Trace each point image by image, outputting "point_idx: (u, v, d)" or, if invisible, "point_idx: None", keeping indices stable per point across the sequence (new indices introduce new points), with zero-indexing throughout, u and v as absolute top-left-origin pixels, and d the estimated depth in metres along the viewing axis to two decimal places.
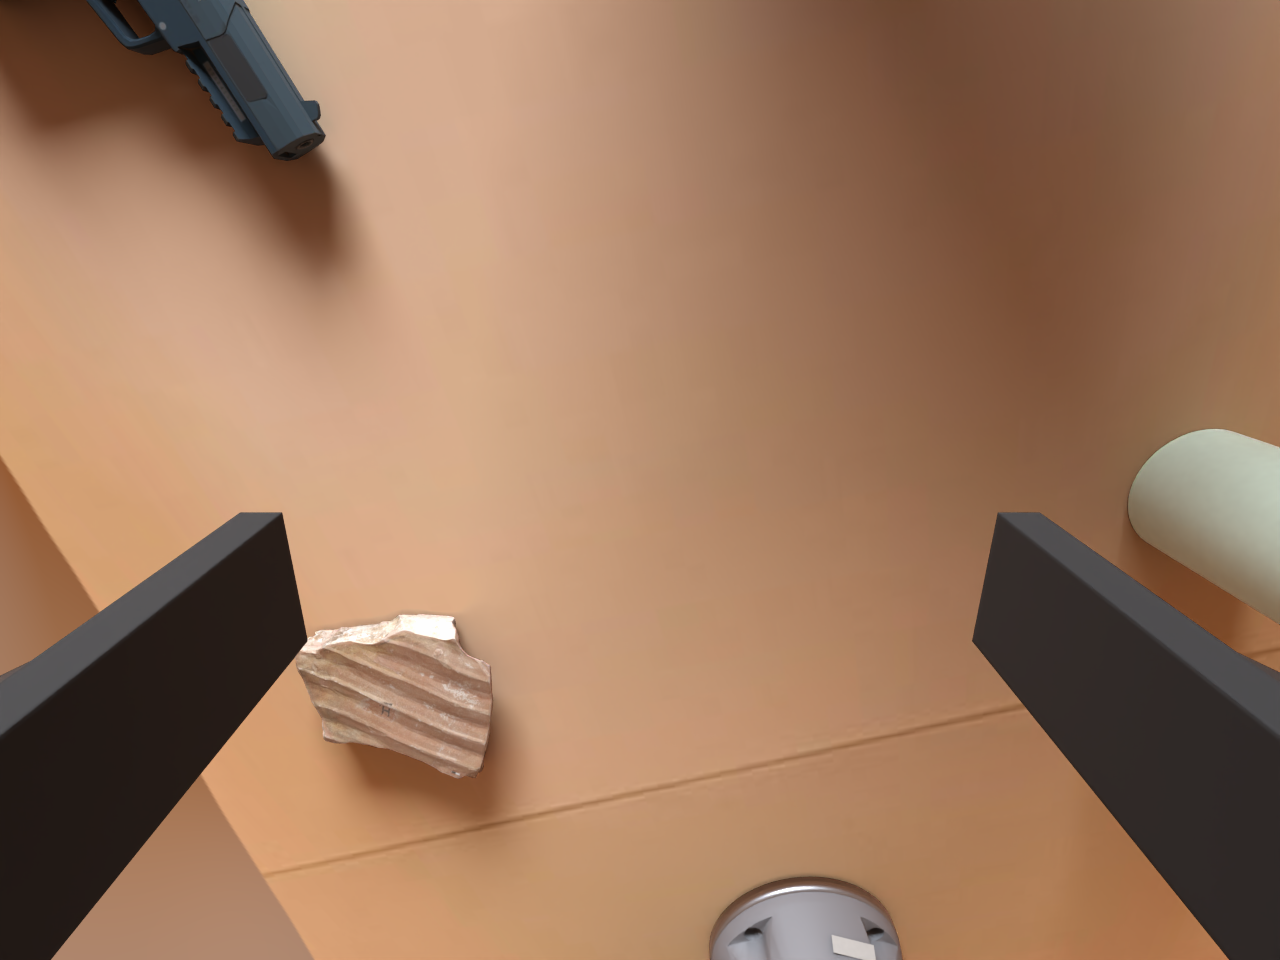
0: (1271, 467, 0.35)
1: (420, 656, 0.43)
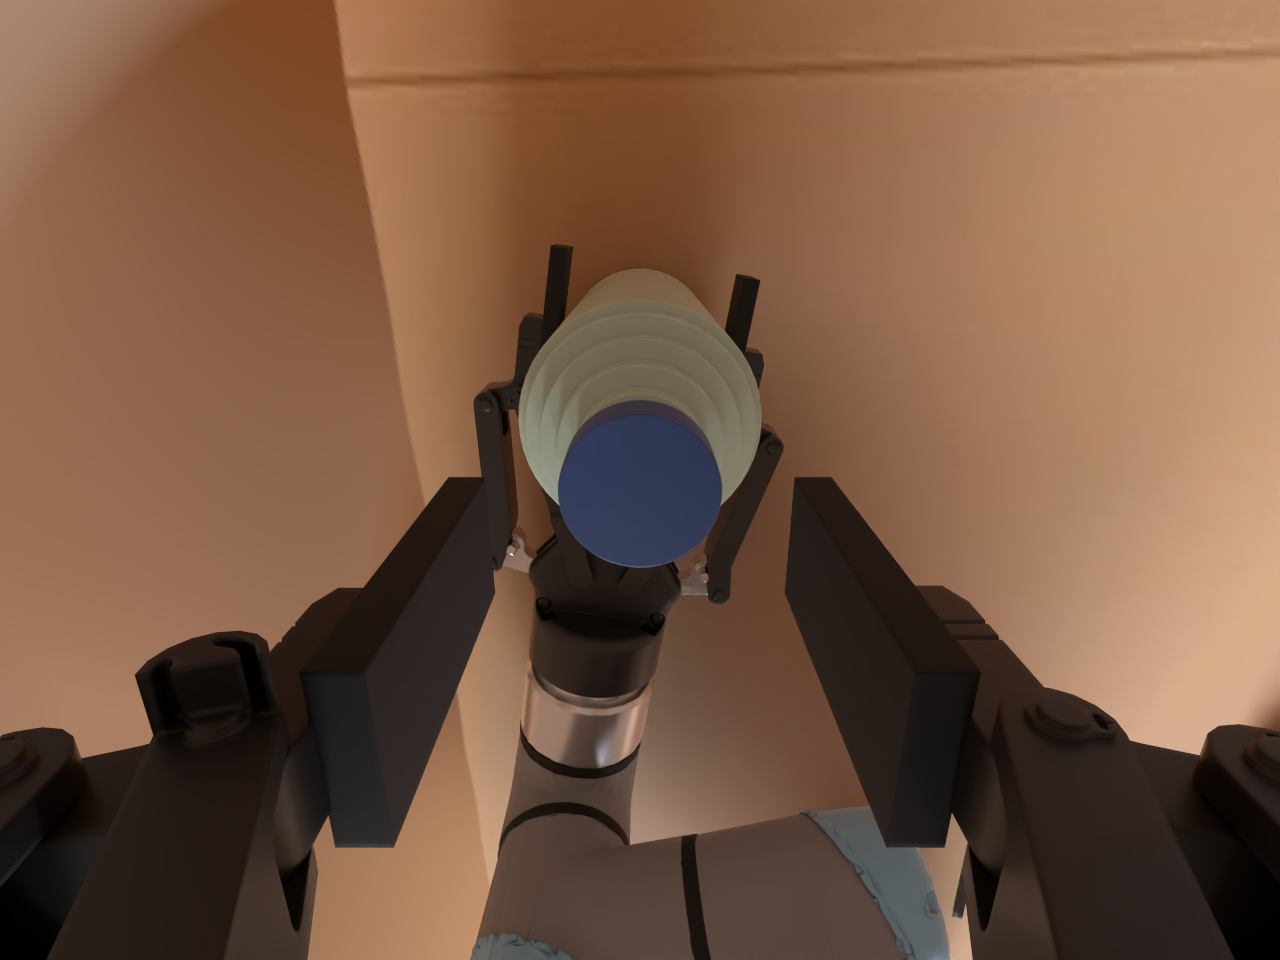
0: None
1: None
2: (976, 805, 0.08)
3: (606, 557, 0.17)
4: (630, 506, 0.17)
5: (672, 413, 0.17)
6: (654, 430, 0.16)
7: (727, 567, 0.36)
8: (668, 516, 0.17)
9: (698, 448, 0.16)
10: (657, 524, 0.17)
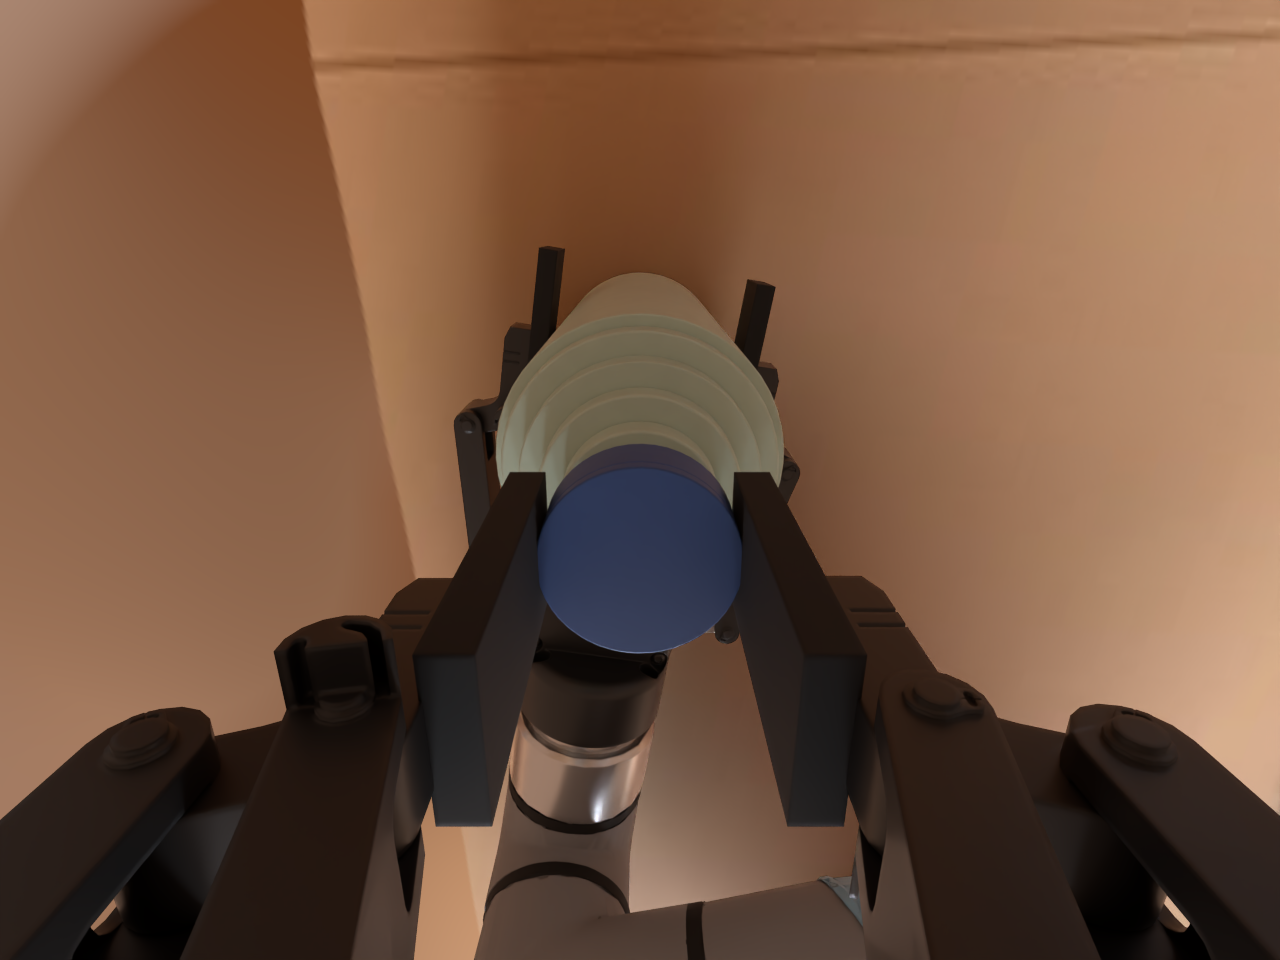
0: None
1: None
2: (863, 788, 0.08)
3: (598, 641, 0.14)
4: (627, 580, 0.13)
5: (680, 462, 0.13)
6: (658, 486, 0.13)
7: None
8: (675, 592, 0.13)
9: (714, 509, 0.13)
10: (661, 601, 0.13)
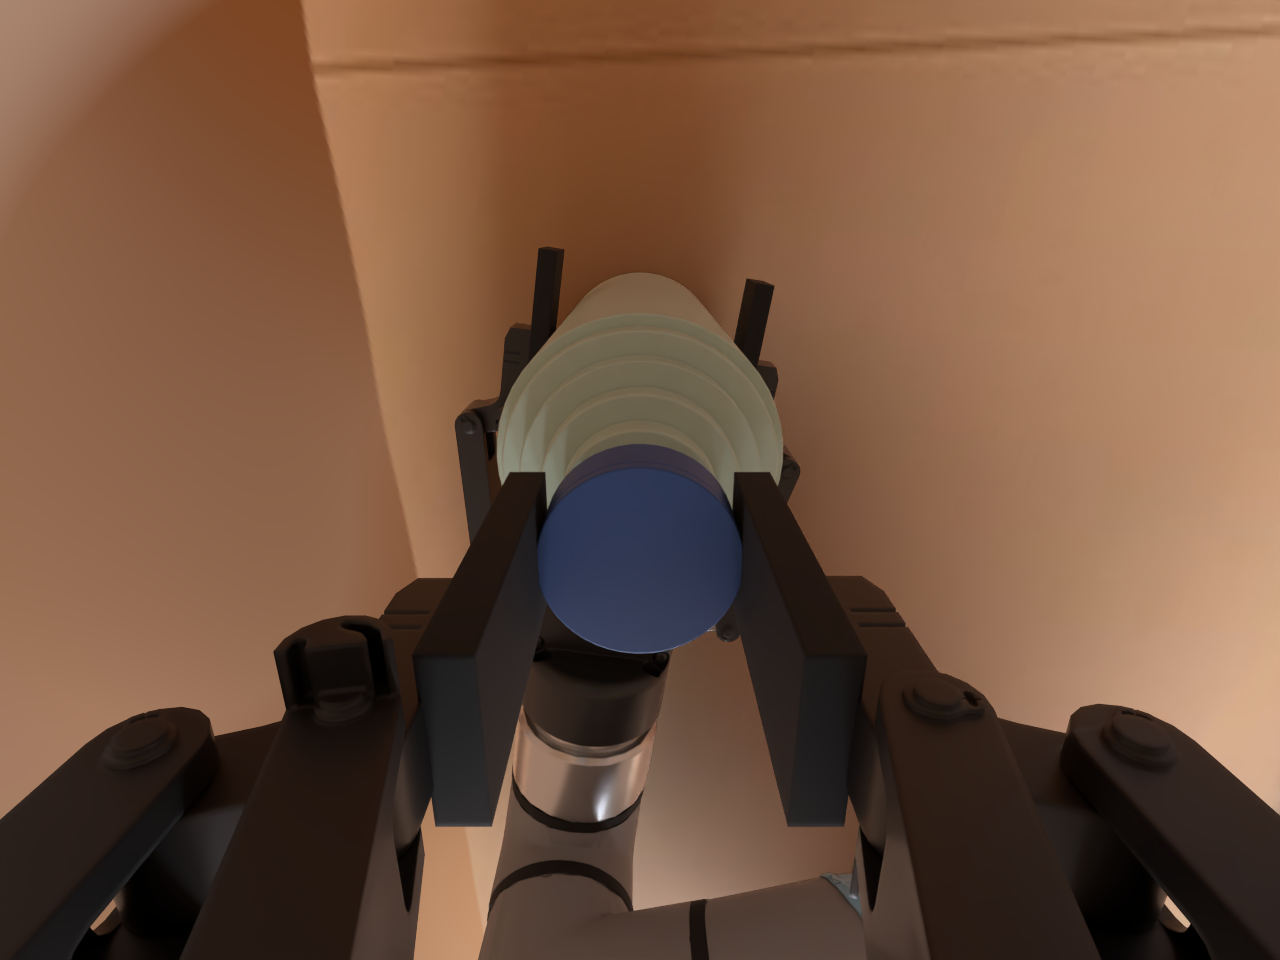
0: None
1: None
2: (864, 788, 0.08)
3: (730, 596, 0.13)
4: (657, 575, 0.13)
5: None
6: (553, 557, 0.13)
7: None
8: (666, 530, 0.13)
9: (569, 504, 0.13)
10: (679, 541, 0.13)
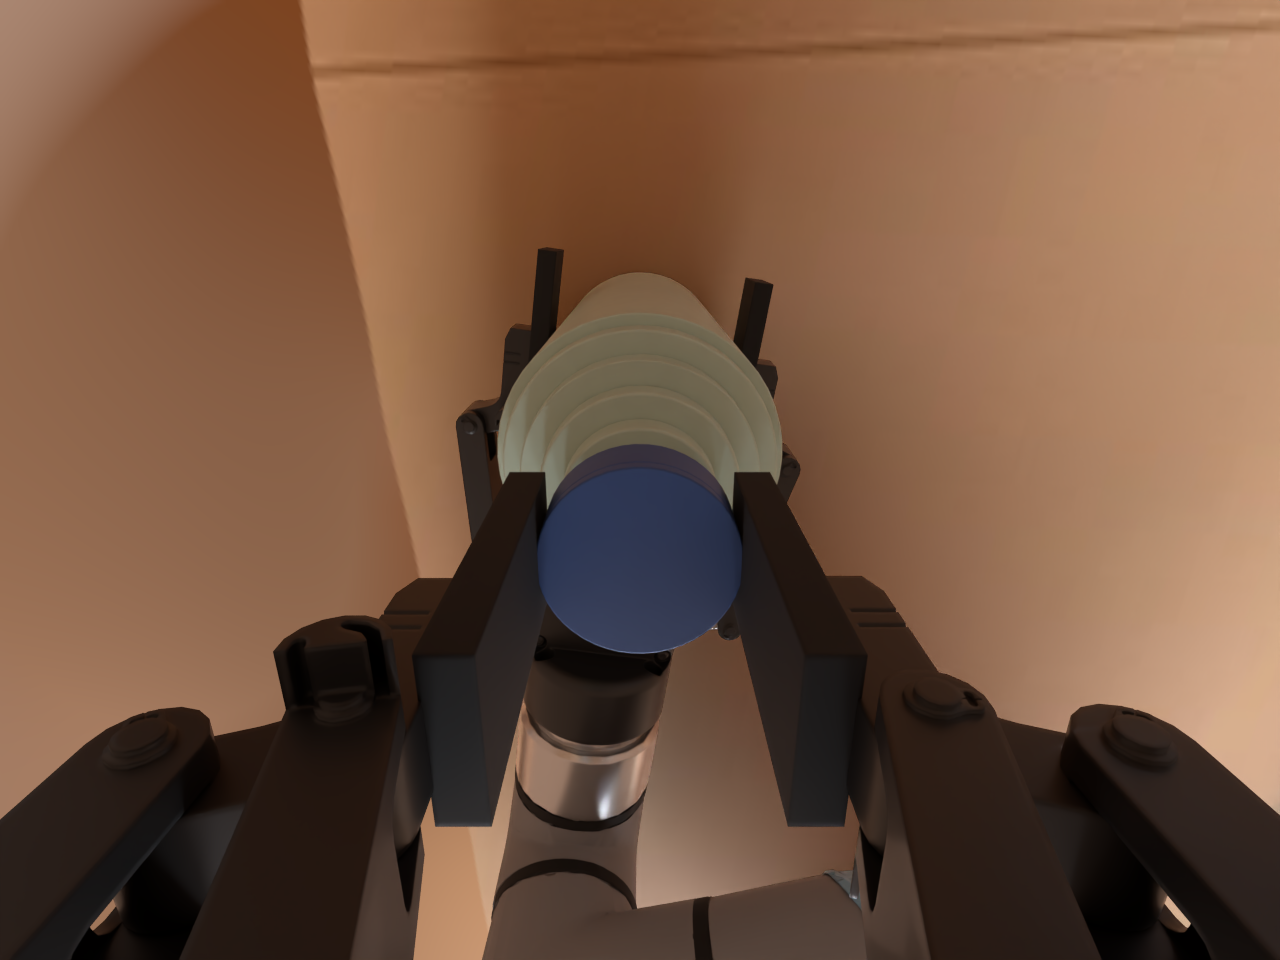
0: None
1: None
2: (864, 788, 0.08)
3: (666, 475, 0.12)
4: (648, 548, 0.13)
5: None
6: (638, 639, 0.14)
7: None
8: (597, 545, 0.13)
9: (583, 628, 0.14)
10: (608, 532, 0.13)
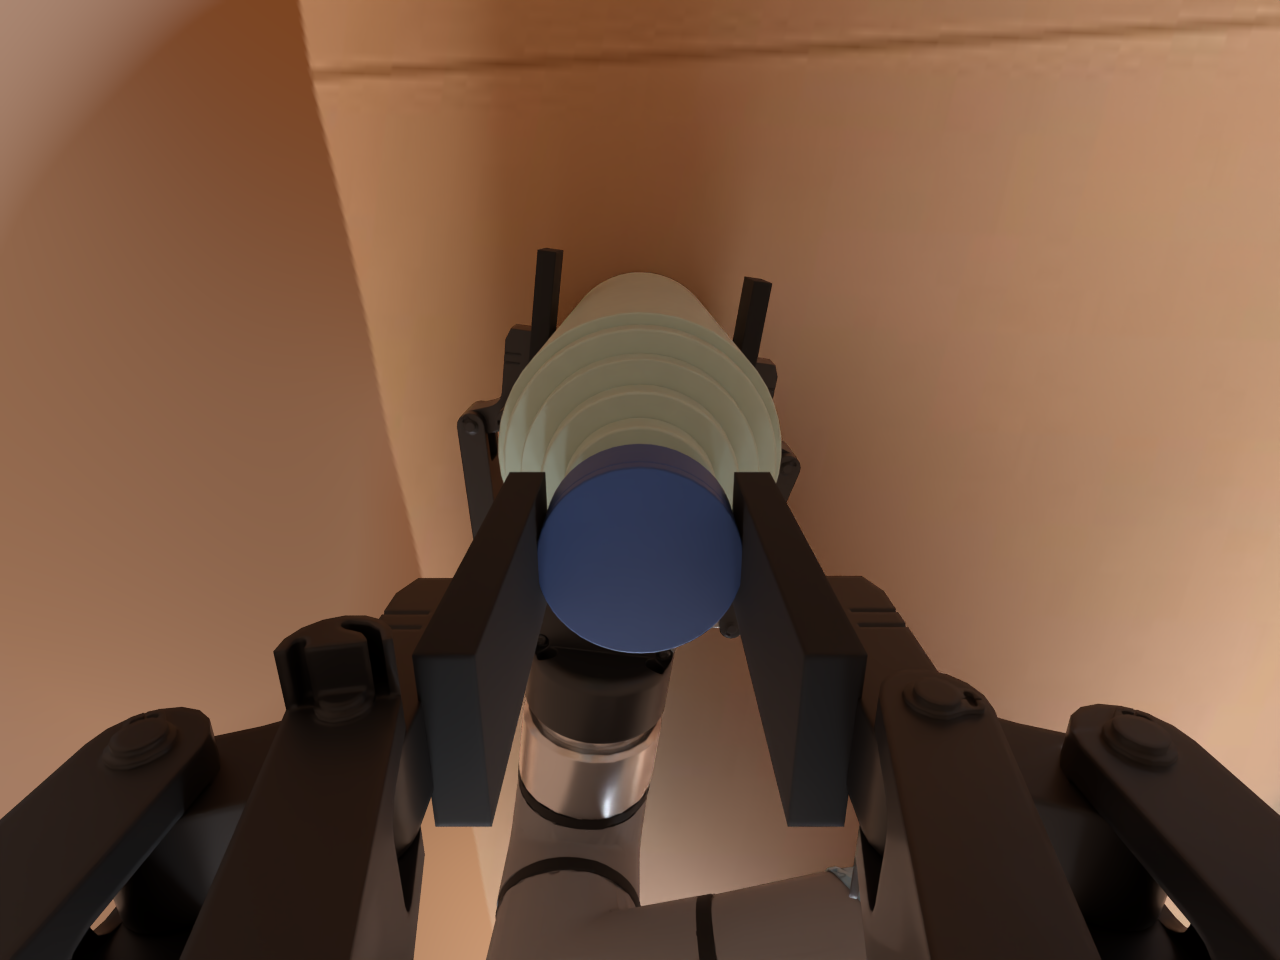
0: None
1: None
2: (864, 788, 0.08)
3: (541, 551, 0.13)
4: (619, 559, 0.13)
5: None
6: (725, 558, 0.13)
7: None
8: (622, 604, 0.13)
9: (717, 609, 0.14)
10: (607, 594, 0.13)
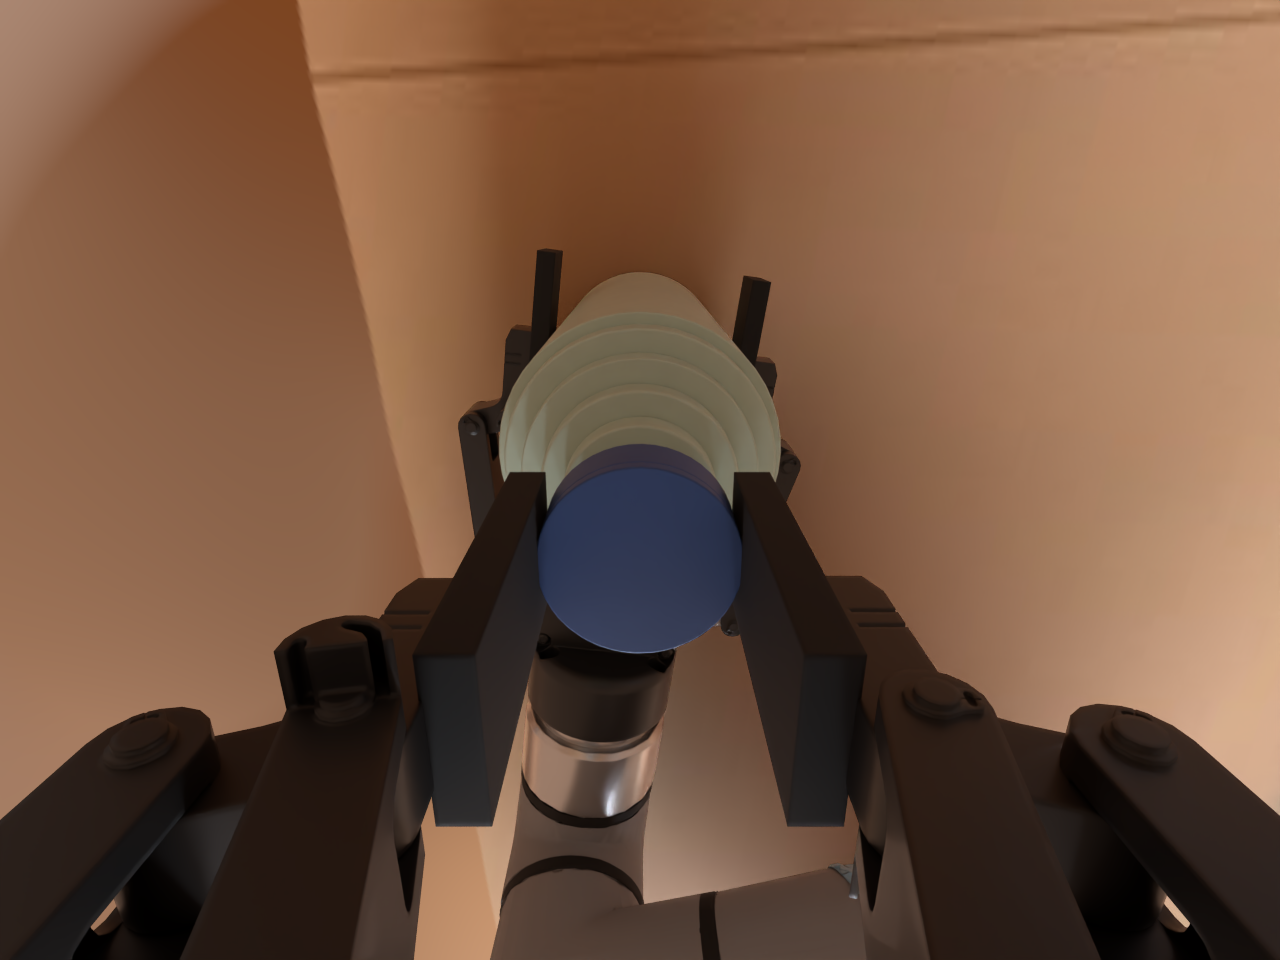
0: None
1: None
2: (863, 788, 0.08)
3: (633, 649, 0.14)
4: (634, 583, 0.13)
5: (640, 454, 0.13)
6: (623, 486, 0.13)
7: None
8: (684, 578, 0.13)
9: (685, 486, 0.13)
10: (676, 591, 0.13)
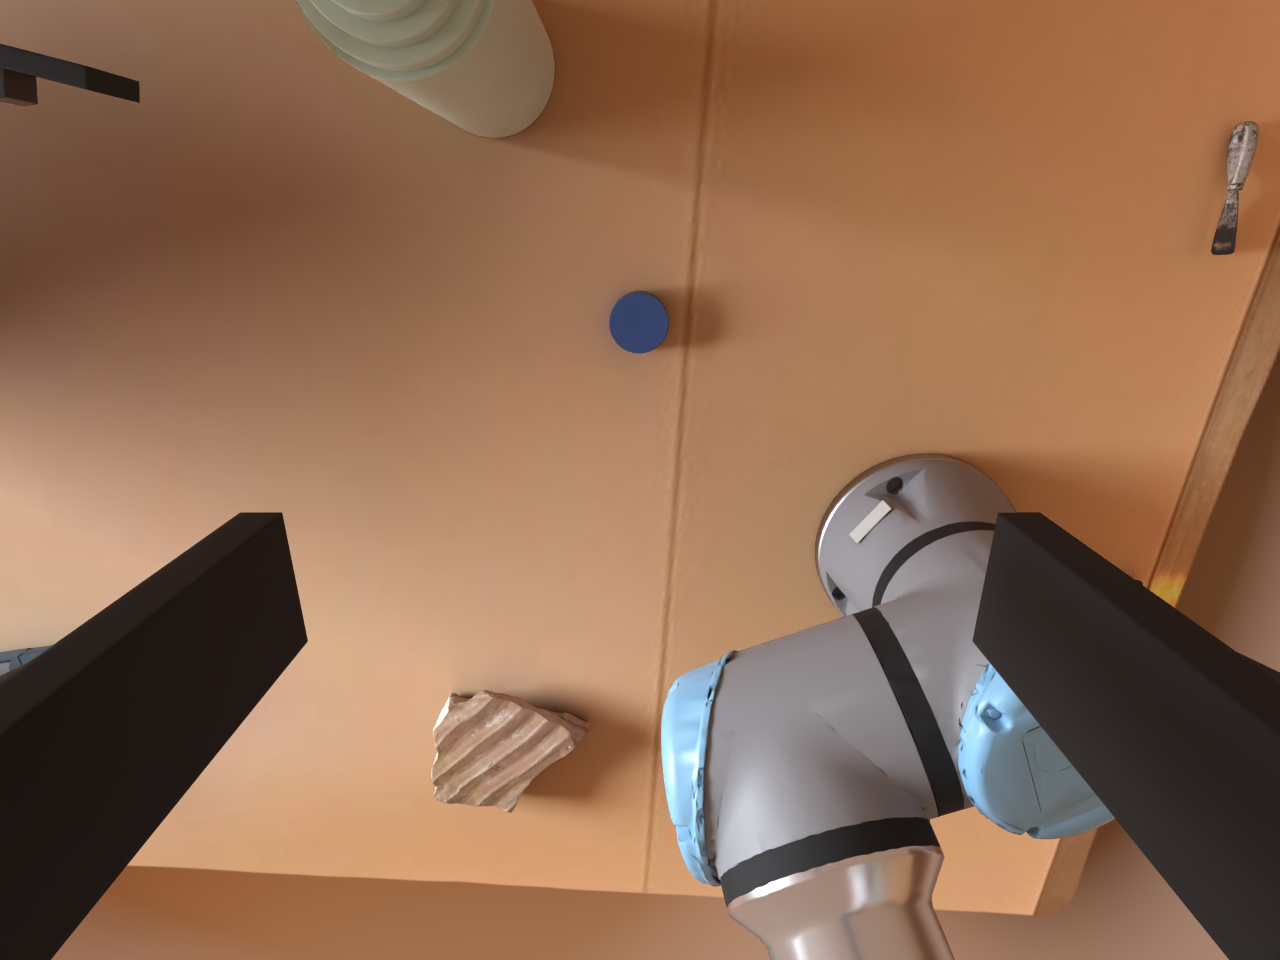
0: None
1: (456, 730, 0.57)
2: None
3: (637, 351, 0.47)
4: (637, 329, 0.47)
5: (639, 292, 0.46)
6: (634, 298, 0.46)
7: None
8: (651, 327, 0.46)
9: (651, 299, 0.46)
10: (649, 332, 0.47)
